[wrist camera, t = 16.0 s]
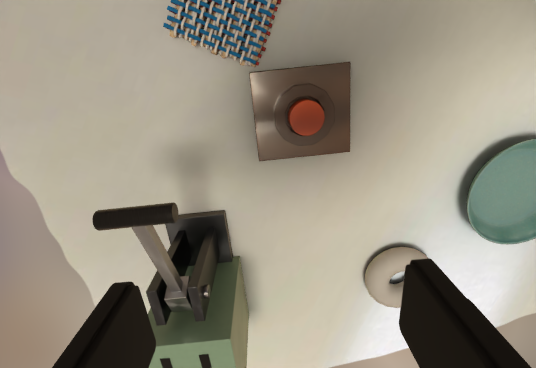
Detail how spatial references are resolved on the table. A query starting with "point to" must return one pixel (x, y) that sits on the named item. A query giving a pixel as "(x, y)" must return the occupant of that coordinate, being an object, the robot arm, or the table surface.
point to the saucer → (505, 196)
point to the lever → (151, 244)
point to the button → (306, 117)
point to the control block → (286, 94)
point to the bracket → (193, 260)
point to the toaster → (207, 327)
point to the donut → (389, 274)
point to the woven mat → (255, 33)
